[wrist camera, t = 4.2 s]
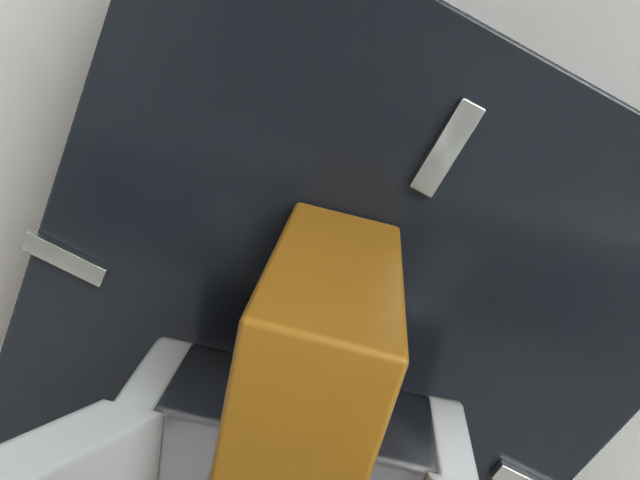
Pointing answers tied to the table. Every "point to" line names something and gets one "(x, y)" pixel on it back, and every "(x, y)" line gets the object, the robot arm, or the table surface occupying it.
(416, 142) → the dark grey square block
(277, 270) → the yellow block
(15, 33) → the table surface
